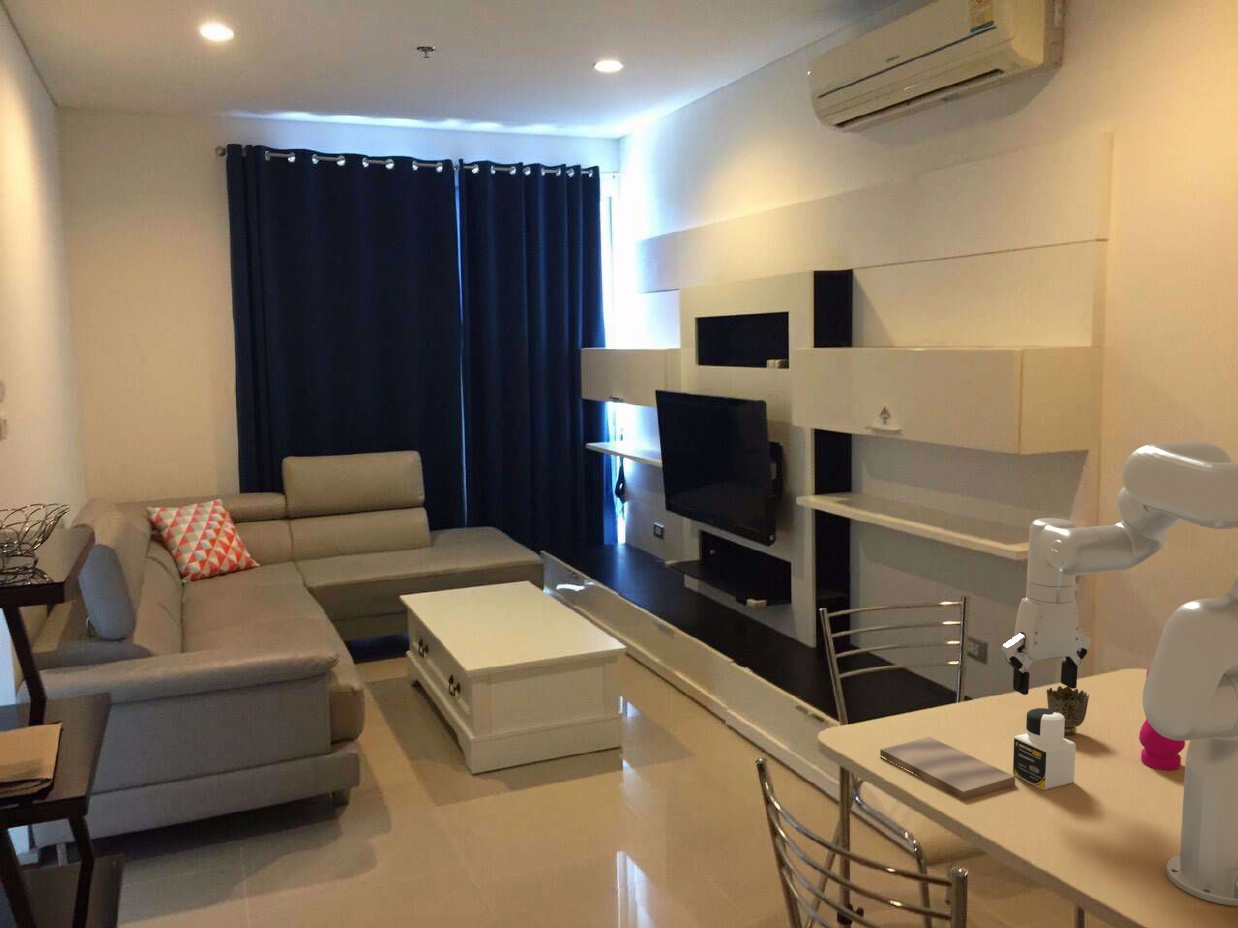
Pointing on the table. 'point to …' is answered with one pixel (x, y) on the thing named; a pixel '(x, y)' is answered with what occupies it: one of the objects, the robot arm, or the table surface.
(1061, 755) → the medicine bottle
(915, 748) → the walnut board
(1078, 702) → the cup
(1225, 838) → the robot arm
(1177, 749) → the pepper mill
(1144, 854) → the table surface
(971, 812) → the table surface
